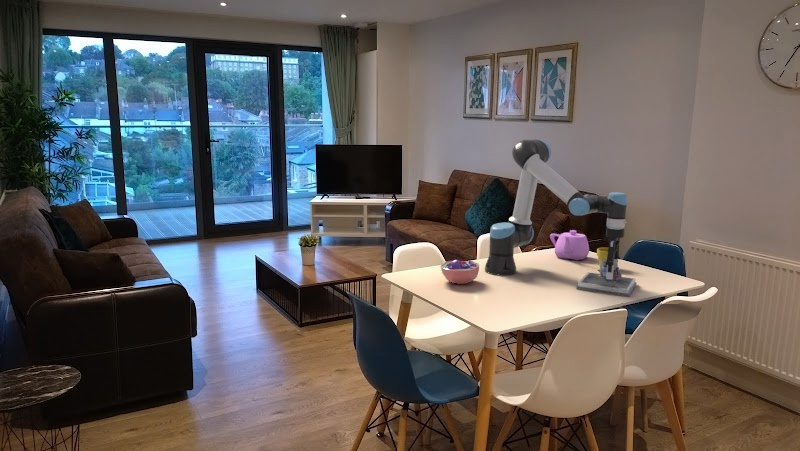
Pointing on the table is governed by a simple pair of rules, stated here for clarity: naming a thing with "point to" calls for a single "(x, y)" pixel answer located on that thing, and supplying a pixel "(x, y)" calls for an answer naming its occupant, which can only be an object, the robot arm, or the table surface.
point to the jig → (606, 285)
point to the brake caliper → (603, 270)
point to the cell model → (460, 271)
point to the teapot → (571, 245)
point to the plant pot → (602, 254)
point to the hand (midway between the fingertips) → (611, 276)
